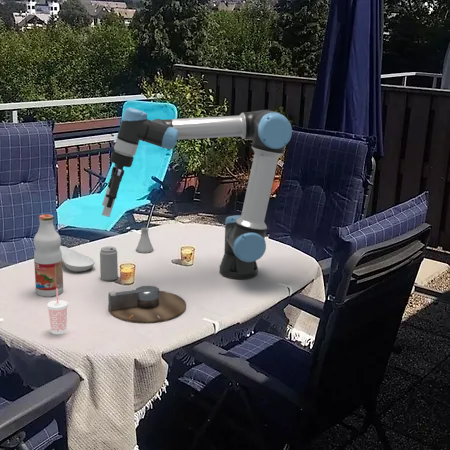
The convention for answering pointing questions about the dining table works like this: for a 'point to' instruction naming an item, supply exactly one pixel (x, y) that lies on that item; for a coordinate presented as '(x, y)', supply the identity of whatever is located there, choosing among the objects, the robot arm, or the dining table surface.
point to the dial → (134, 298)
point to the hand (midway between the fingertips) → (105, 210)
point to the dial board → (153, 310)
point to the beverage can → (108, 263)
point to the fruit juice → (48, 258)
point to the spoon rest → (76, 260)
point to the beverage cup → (58, 315)
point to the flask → (144, 242)
